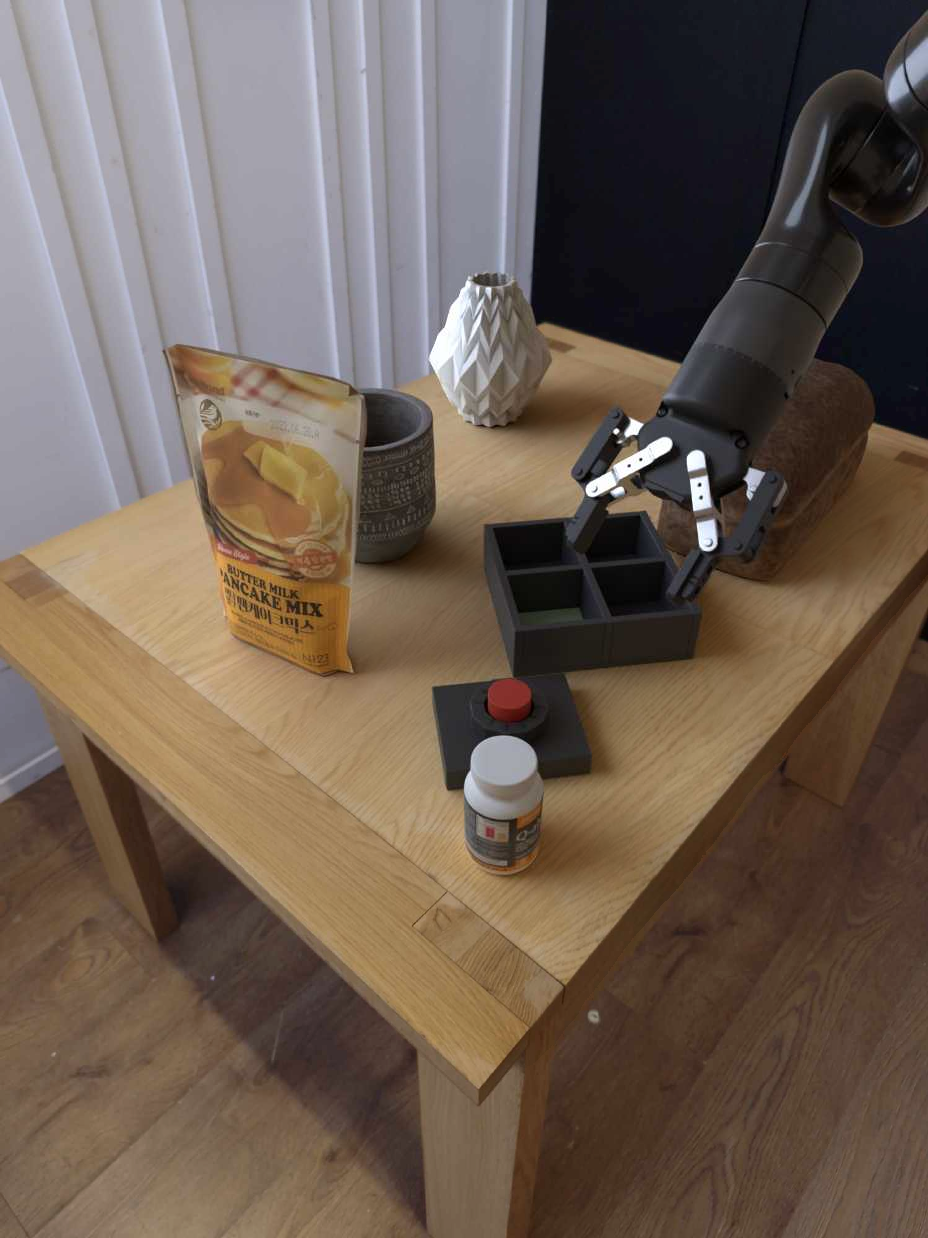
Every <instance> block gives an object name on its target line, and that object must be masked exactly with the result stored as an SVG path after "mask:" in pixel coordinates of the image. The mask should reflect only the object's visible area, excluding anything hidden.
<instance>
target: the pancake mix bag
mask: <svg viewBox="0 0 928 1238" xmlns="http://www.w3.org/2000/svg"><path fill="white" fill-rule="evenodd" d="M161 352H162V354H163V356H164V358H165V361H166V365H167V368H168V371H169V375H170V379H171V383H172V387H173V392H174V397H175V403H176V406H177V410H178V414H179V417H180V421H181V426H182V430H183V431H182V432H183V436H184V442H185V448H186V452H187V456H188V459H189V463H190V467H191V475H192V481H193V485H194V490H195V496H196V499H197V502H198V504H199V505H198V506H199V508H200V511H201V514H202V519H203V522H204V525H205V529H206V532H207V536H208V539H209V544H210V548H211V552H212V555H213V558H214V561H215V562H214V563H215V567H216V571H217V578H218V587H219V588H218V589H219V592H220V598H221V603H222V616H223V617H224V618H226V619H227V625H228V629H229V632H230V633H231V634H232V635H233V636H234V637H235V638H237V639H239V640H240V641H242V642H244V643H247V644H248V645H251V646H253V647H254V648H257V649H259V650H261V651H263V652H265V653H268V654H270V655H273V656H275V657H277V658H279V659H282V660H284V661H286V662H288V663H290V664H292V665H294V666H296V667H298V668H299V669H303V670H305V671H307V672H309V673H312V674H315V675H318V676H321V677H326V676H327V675H330V674H333V673H336V672H338V671H339V672H345V673H350V674H354V673H355V672H354V670H353V665H352V662H351V658H350V654H349V652H348V650H347V647H348V641H349V640H348V639H349V633H350V626H351V625H350V623H351V617H352V603H353V601H352V600H353V584H354V573H355V563H356V562H355V554H356V543H357V527H358V523H359V518H360V495H361V475H362V461H363V450H364V444H365V439H366V433H367V412H366V405H365V398H364V396H363V395H362V394H360V393H359V392H357V391H356V390H355V389H356V388H354V387H353V386H352V385H351V384H350V383H349V382H347V381H345V380H342V379H340V378H337V377H334V376H330V375H325V374H321V373H317V372H313V371H307V370H304V369H298V368H292V367H287V366H284V365H280V364H278V363H274V362H270V361H266V360H263V359H260V358H256V357H252V356H247V355H240V354H238V353H237V354H236V353H232V352H227V351H220V350H216V349H212V348H207V347H200V346H194V345H188V344H183V343H182V344H181V343H176V344H173V345H171V346H169V347H167V348H165V349H162V350H161Z"/></svg>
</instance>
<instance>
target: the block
mask: <svg viewBox="0 0 928 1238" xmlns="http://www.w3.org/2000/svg"><path fill="white" fill-rule="evenodd" d="M503 679H515V680H519V681H521V682H523V683H525V684H526V685H527V686H528V687H529V688H530V690H531V710H530V714H529V715H528V717H527V718H526V719H524V720H523V721H521V722H515V723H504V722H500V721H497V720H495V719H494V718H493V717H492V716H491V715H490V714H489V712H488V690H489V688H490V687H491V686H492V684H494V683H495V682H497V681H499V680H503ZM431 698H432V700H431V701H432V708H433V714H434V715H433V716H434V721H435V722H434V723H435V726H436V728H435V729H436V732H437V739H438V746H439V753H440V759H441V765H442V769H443V770H442V771H443V776H444V782H445V788H446V790H447V791H451V790H458V789H464V784H465V780H466V777H467V775H468V773H469V772H470V770H471V756H472V753H473V751H474V749H475V748H476V747H477V746H478V745H479V744H480V743H481V742H483V741H484V740H486V739H488V738H491V737H495V736H512V737H516V738H519V739H521V740H523V741H525V742H526V743H528V744H529V745H530V746H531V747H532V748H533V750H534V751H535V753H536V756H537V760H538V769H537V771H538V773H539V775H540V777H541V779H542V780H546V779H555V778H561V777H570V776H571V777H572V776H579V775H588V774H591V767H592V761H593V753H592V752H591V748H590V746H589V742H588V739H587V736H586V733H585V730H584V727H583V724H582V721H581V718H580V716H579V712H578V710H577V707H576V704H575V701H574V697H573V695H572V692H571V688H570V686H569V683H568V680H567V677H566V674H565V672H558V673H549V674H539V675H530V676H520V677H513V676H511V677H503V678H494V679H490V680H482V681H473V682H465V683H454V684H445V685H436V686H432V687H431Z"/></svg>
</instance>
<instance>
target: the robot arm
mask: <svg viewBox="0 0 928 1238" xmlns="http://www.w3.org/2000/svg"><path fill="white" fill-rule="evenodd" d="M830 200H831V201H832V202H833V203H835V204H837V205H838V206H840V207H842V208H843V209H845V210H846V211H848V212H850V213H851V214H852V215H854V216H856V217H857V218H858V219H860V220H862V221H864V223H867V224H869V225H871V226H875V227H879V228H891V227H896V226H900V225H903V224H905V223H909V222H910V221H911V220H913V219H915V218H916V217H918V216H919V215H920V214H921V213H923V212H924V211H925V210H926V208H928V9H927V10H926V11H925V12H924V13H923V14H922V16H921V17H920V18H919V19H918V20H917V21H916V22H915V23H914V24H913V25H912V26H911V27H910V28H909V30H908V31H907V32H906V33H905V34H904V36H902V38H901V39H900V41H899V42H898V43H897V45H896V46H895V47H894V49H893V51H892V52H891V54H890V56H889V58H888V59H887V62H886V64H885V68H884V71H883V75H882V79H880V78H879V77H878V76H876V75H874V74H873V73H871V72H868V71H866V70H862V69H850V70H845V71H842V72H840V73H836V74H835V75H833V76H832V77H831V78H829V79H827V80H825V81H824V82H823V83H822V84H820V86H819V87H818V88H817V89H815V91H814V92H813V93H812V94H811V95H810V97H809V98H808V100H807V101H806V103H805V104H804V106H803V108H802V109H801V111H800V113H799V115H798V117H797V120H796V122H795V124H794V127H793V129H792V133H791V135H790V139H789V141H788V145H787V148H786V152H785V157H784V161H783V164H782V168H781V173H780V176H779V181H778V185H777V188H776V192H775V195H774V199H773V202H772V205H771V207H770V211H769V214H768V216H767V219H766V221H765V224H764V227H763V229H762V231H761V233H760V234H759V237H758V239H757V241H756V243H754V246H753V247H752V249H751V252H750V253H749V255H748V256H747V258H746V260H745V262H744V263H743V266H742V267H741V269H740V270H739V272H738V274H737V276H736V277H735V279H734V281H733V282H732V284H731V286H730V288H729V289H728V291H727V292H726V293H725V295H724V296H723V297H722V299H721V300H720V301H719V302H718V304H717V305H716V307H715V308H714V309H713V311H712V312H711V313H710V315H709V317H708V318H707V320H706V322H705V324H704V325H703V327H702V328H701V330H700V332H699V333H698V335H697V337H696V339H695V341H694V343H693V344H692V346H691V348H690V349H689V351H688V353H687V354H686V356H685V358H684V360H683V361H682V363H681V365H680V366H679V368H678V369H677V371H676V373H675V375H674V377H673V379H672V380H671V382H670V384H669V386H668V387H667V389H666V391H665V393H664V394H663V396H662V398H661V400H660V403H659V406H658V409H657V411H656V412H655V414H654V415H653V416H652V417H651V418H650V419H649V420H648V421H647V422H645V423H642V422H640V421H639V420H636V419H635V418H632V417H631V416H628V414H627V413H626V412H625V411H624V409H623V408H621V407H620V406H614V407H612V408H611V409H610V410H609V411H608V413H607V414H606V415H605V417H604V418H603V420H602V422H601V424H599V426H598V428H597V430H595V432H594V434H593V436H592V437H591V439H590V440H589V442H588V443H587V444H586V447H585V448H584V450H583V451H582V453H581V454H580V456H579V457H578V459H577V460H576V462H575V463H574V465H573V467H572V468H571V471H570V476H571V478H572V479H573V480H575V481H576V483H577V484H578V485H579V486H580V487H581V489H582V490H583V492H584V495H583V496H584V497H583V499H582V501H581V503H580V504H579V505H578V508H577V510H576V511H575V513H574V514H573V516H572V517H573V518H572V520H571V522H570V523H569V525H568V527H567V529H566V534H565V536H567V537H568V538H567V541H566V545H567V546H568V547H569V548H571V549H572V550H574V551H575V552H577V553H579V554H581V555H583V554H584V553H585V552H586V551H587V550H588V548H589V546H590V544H591V543H592V541H593V539H594V537H595V536H596V534H597V532H598V531H599V529H600V527H601V525H602V524H603V522H604V520H605V519H606V517H607V515H608V514H610V511H609V510H608V509H607V508H609V507H612V506H613V505H615V504H617V503H619V502H621V501H623V500H625V499H626V498H629V497H636V496H639V495H641V494H643V493H645V492H649V493H650V494H651V495H652V496H654V497H656V498H658V499H660V500H663V499H664V500H671V501H674V502H675V503H676V504H677V505H678V506H679V507H680V508H682V509H685V510H687V511H689V512H690V511H691V510H694V516H695V518H696V522H697V529H698V538H699V547H698V549H697V550H696V549H694V548H692V549H691V551H690V552H689V554H688V556H686V557H685V559H684V561H683V563H682V565H681V566H680V567H679V568H678V570H679V571H678V573H677V574H676V576H675V578H674V580H673V581H672V583H671V585H670V586H669V588H668V590H667V592H666V594H665V598H666V599H667V600H669V601H670V602H671V603H673V604H675V605H677V606H679V607H682V606H683V605H684V604H685V603H686V601H688V602H690V603H692V602H693V601H694V600H696V599H698V598H699V596H700V594H701V593H702V590H704V587H705V585H707V583H708V581H709V579H710V578H711V576H712V574H713V572H714V571H715V569H716V568H715V567H716V566H717V565H718V564H719V563H721V562H723V561H732V562H739V563H741V564H743V565H748V564H750V563H752V562H753V561H754V559H755V557H756V555H757V553H758V551H759V550H760V548H761V546H762V544H763V542H764V540H765V538H766V536H767V534H768V532H769V530H770V528H771V526H772V525H773V523H774V521H775V519H776V517H777V515H778V513H779V511H780V509H781V507H782V505H783V503H784V501H785V499H786V498H787V496H788V493H789V488H788V486H787V484H786V482H785V480H784V478H783V477H782V475H781V474H780V472H778V471H776V470H770V471H768V472H763V471H760V470H757V469H754V468H752V462H753V459H754V457H755V455H756V454H757V453H758V452H759V450H760V449H761V447H762V445H763V444H764V442H765V440H766V439H767V437H768V435H769V434H770V432H771V430H772V428H773V427H774V425H775V423H776V422H777V420H778V418H779V417H780V415H781V413H782V412H783V410H784V408H785V406H786V405H787V403H788V401H789V400H790V398H791V396H792V395H793V393H794V392H795V391H796V390H797V389H798V388H799V386H800V384H801V382H802V380H803V378H804V374H805V373H806V371H807V369H808V367H809V365H810V364H811V361H812V359H813V358H815V356H816V355H815V354H816V352H817V350H818V347H819V345H820V342H821V340H822V338H823V337H824V336H825V333H826V331H827V330H828V328H829V326H830V324H831V323H832V322H833V320H834V318H835V316H836V314H837V313H838V311H839V309H840V308H841V306H842V304H843V302H844V301H845V298H847V295H848V294H849V292H850V291H851V289H852V287H853V285H855V282H856V280H857V278H858V277H859V274H860V272H861V269H862V266H863V263H864V257H863V256H864V255H863V249H862V246H861V245H860V243H859V241H858V240H857V238H856V236H855V235H854V234H853V233H852V232H851V231H850V230H849V228H848V227H847V226H846V225H845V224H844V222H843V221H842V219H840V218H839V216H838V215H837V214H836V211H834V208H833V207H832V204H831V202H830ZM635 441H636V443H637V445H636V446H637V452H636V453H634V454H633V455H631V456H629V457H627V458H625V459H623V460H621V461H619V462H618V463H616V464H615V465H613V464H614V462H615V461H616V459H617V457H618V456H619V455H620V453H621V451H622V450H623V449H626V448H630V446H631V445H632V443H634V442H635ZM612 465H613V466H612ZM611 467H612V468H611ZM610 468H611V470H610ZM609 470H610V471H609ZM608 471H609V472H608ZM746 484H747V485H748V490H747V497H748V499H749V500H750V503H749V505H748V507H747V508H746V510H745V512H744V514H743V516H742V518H741V520H740V522H739V524H738V526H737V528H736V530H735V532H734V534H733V536H732V537H731V538H725V532H724V528H725V519H724V511H723V503H722V498H723V497H725V496H726V495H728V494H730V493H732V492H734V491H736V490H738V489H740V488H742V487H743V486H745V485H746Z"/></svg>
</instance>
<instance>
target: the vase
mask: <svg viewBox="0 0 928 1238" xmlns="http://www.w3.org/2000/svg"><path fill="white" fill-rule="evenodd" d="M428 360H429V361H428V362H430V364H431V366H432V369H433V370H434V372H435V375H436V376H437V379H438V380H439V383H440V385H441V388H442V390H443V392H444V393H445V395H446V397H447V399H448V401H449V403H450V404H451V405H452V406H454V407H456V408H457V413H458V415H461V416H462V420H463V421H464V422H465V421H466V422H471V423H472V424H473V425H474V426H481V425H484V426H486V427H488V428H491V427H494V426H495V425H498V426H503V427H505V426H507V424H508V423H509V422H510V423H511V422H517V420H518V417H520V416H522V414H523V411H524V408H526V407H528V406H529V404H530V403H531V401H532V399H533V398H534V396H535V394H536V393H537V391H538V390H539V387H540V385H541V383H542V380H543V379H544V377H545V375H546V373H547V371H548V369H549V368H550V366H551V365H552V363H553V357H552V354H551V351H550V348H549V345H548V342H547V340H546V337H545V334H544V333H543V332H542V331H541V330H540V329H539V327H538V326H537V323H536V319H535V314H534V311H533V306H532V305H531V304H530V303H529V302H528V300H527V299H526V298H525V296H524V292H523V290H522V289H521V288H520V287H519V286H518V281H517V278H516V276H515V275H512V276H511V275H510V274H509V272H506V273H505V272H504V273H501V271H498V270H496V271H494V272H491V271H488V270H486V271H484V272H483V273H480V272H475V273H474V275H468V277H467V280H466V281H465V285H464V286H463V287H462V288H461V289H460V292H459V296H458V297H457V298H456V299H455V301H454V302H453V303H452V304H451V306H450V308H449V312H448V314H447V319H446V322H445V326H444V327H443V328H442V329H441V330H440V332H439V333H438V335H437V337H436V339H435V342H434V344H433V346H432V349H431V352H430V354H429V357H428Z"/></svg>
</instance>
